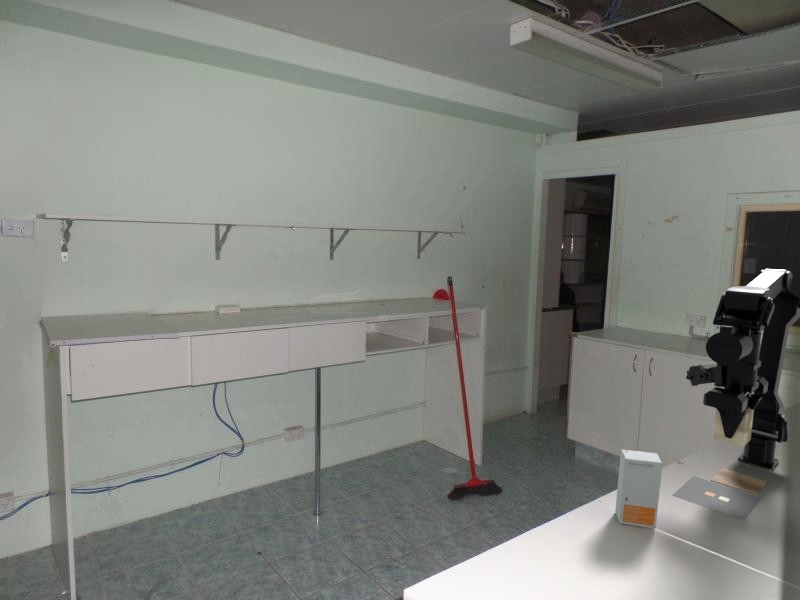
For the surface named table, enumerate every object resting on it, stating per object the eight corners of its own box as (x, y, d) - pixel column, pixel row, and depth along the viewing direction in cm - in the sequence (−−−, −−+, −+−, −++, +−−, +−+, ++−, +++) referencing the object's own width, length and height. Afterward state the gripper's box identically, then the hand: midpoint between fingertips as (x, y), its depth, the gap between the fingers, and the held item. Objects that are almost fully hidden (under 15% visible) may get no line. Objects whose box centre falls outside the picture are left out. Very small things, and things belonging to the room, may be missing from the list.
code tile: (693, 476, 109) (693, 475, 109) (762, 499, 101) (762, 497, 101) (671, 496, 101) (671, 495, 101) (744, 522, 92) (744, 520, 92)
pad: (722, 469, 113) (722, 468, 113) (767, 483, 107) (767, 481, 107) (710, 481, 107) (710, 479, 107) (756, 496, 102) (756, 494, 102)
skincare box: (618, 524, 91) (624, 458, 89) (615, 512, 95) (619, 448, 93) (657, 530, 89) (663, 462, 88) (651, 516, 94) (657, 452, 92)
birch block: (721, 432, 106) (724, 403, 105) (750, 439, 102) (753, 409, 101) (713, 439, 102) (716, 409, 101) (743, 447, 99) (746, 416, 98)
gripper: (709, 340, 112) (703, 411, 114) (676, 355, 99) (670, 434, 102) (772, 350, 104) (764, 425, 106) (745, 367, 91) (736, 453, 94)
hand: (732, 433), depth 102 cm, fingers closed on birch block, 5 cm apart
